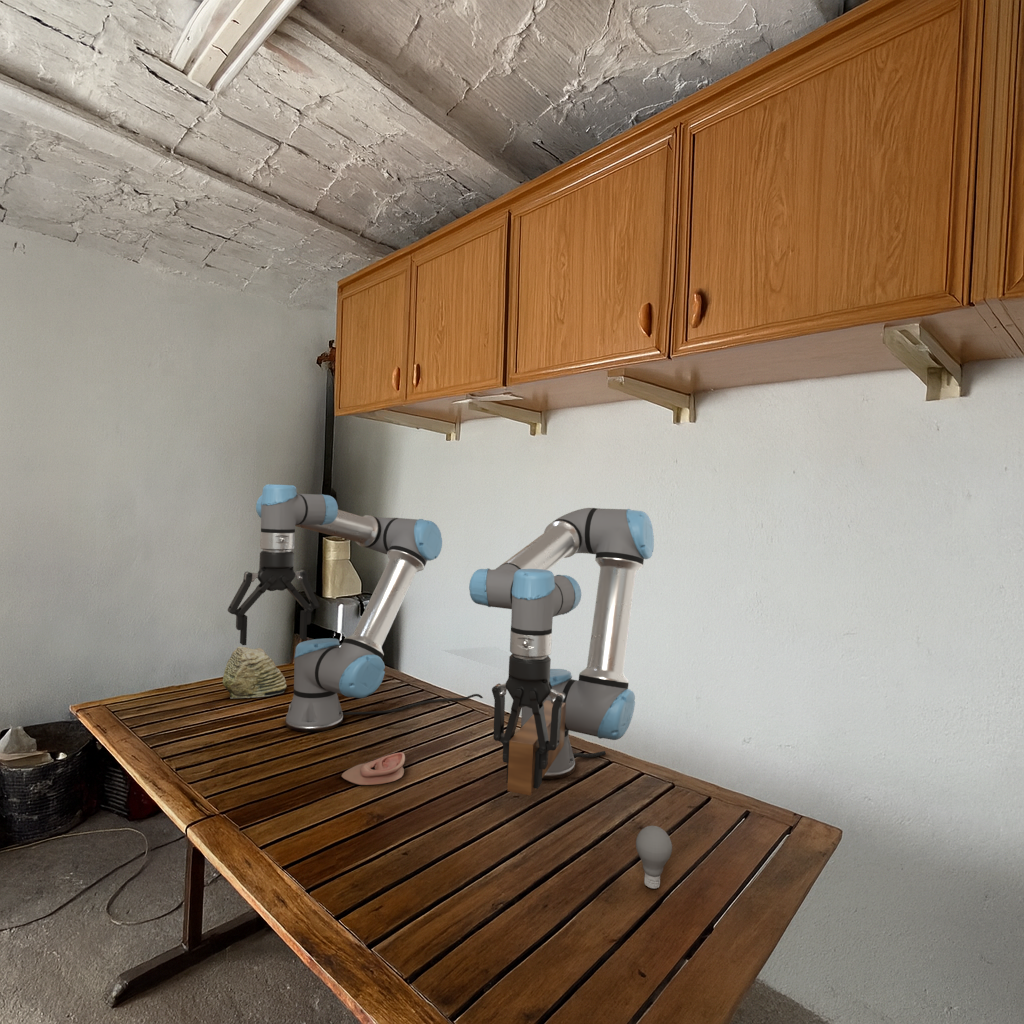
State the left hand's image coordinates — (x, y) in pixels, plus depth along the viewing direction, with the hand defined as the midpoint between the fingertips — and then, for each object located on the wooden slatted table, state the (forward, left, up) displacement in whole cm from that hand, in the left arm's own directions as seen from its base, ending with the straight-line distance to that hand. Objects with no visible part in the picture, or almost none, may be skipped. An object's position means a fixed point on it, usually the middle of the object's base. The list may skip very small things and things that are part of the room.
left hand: (273, 641), depth 148 cm
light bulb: (-18, +89, -29) cm, 95 cm away
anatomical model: (-13, +22, -29) cm, 39 cm away
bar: (-20, +63, -16) cm, 68 cm away
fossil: (-24, -49, -29) cm, 62 cm away
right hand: (-11, +67, -16) cm, 69 cm away
